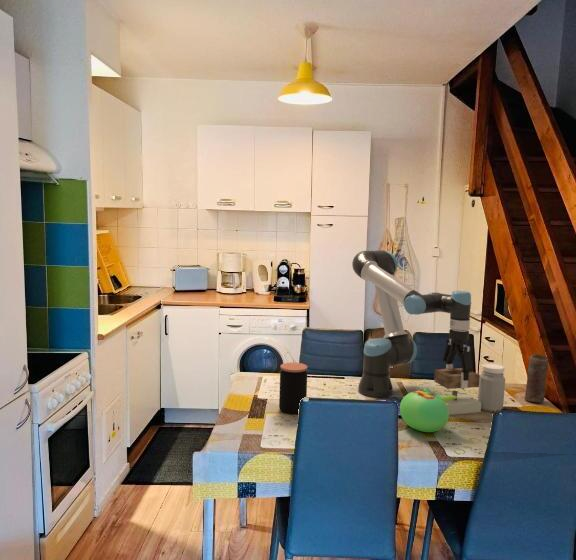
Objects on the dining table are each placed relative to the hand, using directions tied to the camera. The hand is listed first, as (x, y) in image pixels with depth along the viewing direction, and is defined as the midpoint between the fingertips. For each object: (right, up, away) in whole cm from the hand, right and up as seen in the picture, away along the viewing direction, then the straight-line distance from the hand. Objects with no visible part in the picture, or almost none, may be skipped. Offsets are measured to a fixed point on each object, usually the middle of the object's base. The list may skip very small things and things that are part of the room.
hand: (456, 383), depth 202 cm
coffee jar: (-66, -10, -5) cm, 67 cm away
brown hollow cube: (0, 0, 0) cm, 0 cm away
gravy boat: (-18, -13, -19) cm, 30 cm away
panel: (-1, -11, +1) cm, 11 cm away
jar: (+15, -11, +3) cm, 19 cm away
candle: (+38, -11, +13) cm, 42 cm away
